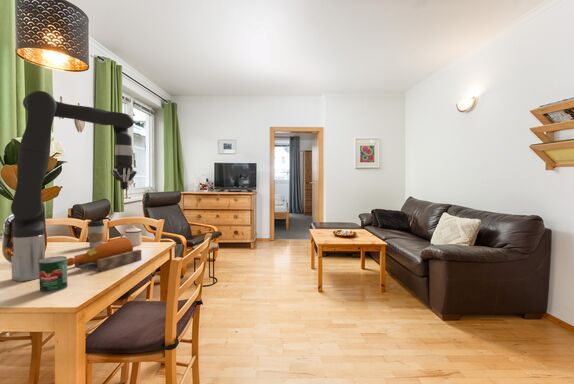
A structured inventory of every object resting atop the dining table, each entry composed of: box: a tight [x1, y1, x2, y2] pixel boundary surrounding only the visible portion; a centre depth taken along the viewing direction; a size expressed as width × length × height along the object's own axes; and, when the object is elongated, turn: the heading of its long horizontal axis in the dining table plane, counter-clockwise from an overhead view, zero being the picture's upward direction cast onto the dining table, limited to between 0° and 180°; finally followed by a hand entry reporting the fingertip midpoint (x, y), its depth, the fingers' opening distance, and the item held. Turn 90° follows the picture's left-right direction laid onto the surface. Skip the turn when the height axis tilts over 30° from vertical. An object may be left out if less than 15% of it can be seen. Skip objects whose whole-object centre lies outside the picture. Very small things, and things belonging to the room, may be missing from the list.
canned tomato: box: [38, 255, 69, 294], centre depth 100 cm, size 8×8×11 cm
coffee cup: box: [87, 220, 105, 249], centre depth 163 cm, size 8×8×15 cm
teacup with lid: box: [119, 225, 143, 247], centre depth 169 cm, size 12×9×12 cm
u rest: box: [74, 249, 142, 273], centre depth 132 cm, size 20×18×5 cm
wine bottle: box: [67, 238, 134, 267], centre depth 126 cm, size 10×10×30 cm
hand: (124, 189), depth 138 cm, fingers closed
